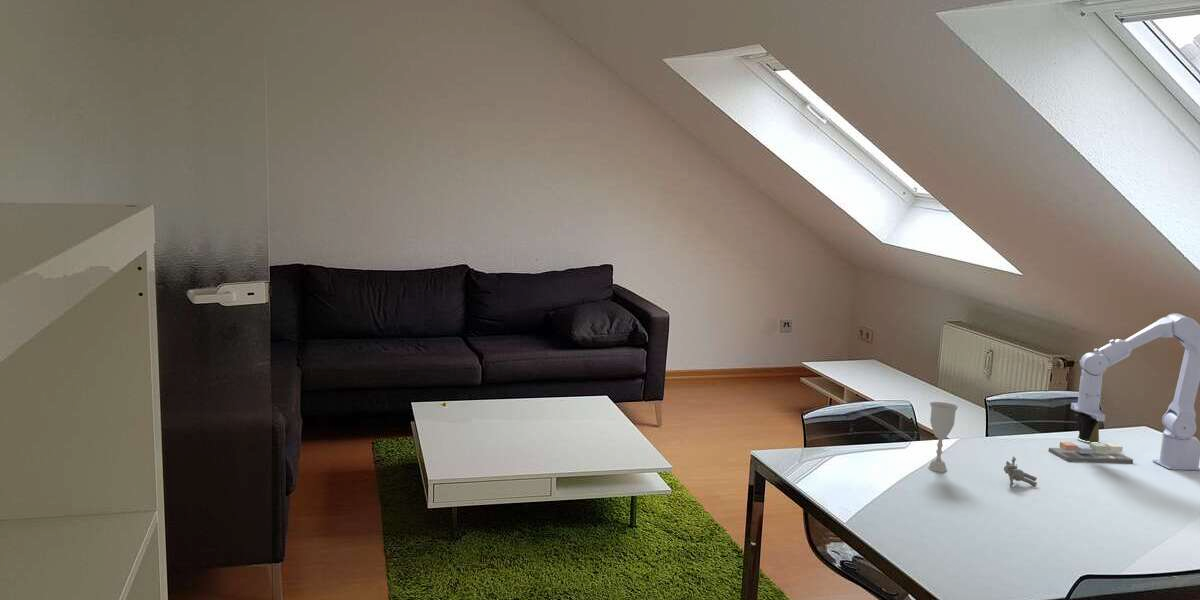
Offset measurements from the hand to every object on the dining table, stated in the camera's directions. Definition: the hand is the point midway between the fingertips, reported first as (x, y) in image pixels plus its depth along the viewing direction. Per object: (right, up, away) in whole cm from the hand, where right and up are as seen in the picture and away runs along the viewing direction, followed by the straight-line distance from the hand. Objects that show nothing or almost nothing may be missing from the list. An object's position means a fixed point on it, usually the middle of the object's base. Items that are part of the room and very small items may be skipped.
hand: (1084, 439), depth 284 cm
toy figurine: (-32, -8, -28) cm, 44 cm away
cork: (+11, -4, +19) cm, 23 cm away
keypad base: (+2, -5, +1) cm, 6 cm away
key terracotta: (-5, -3, 0) cm, 6 cm away
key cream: (+9, -3, +1) cm, 10 cm away
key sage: (+4, -3, +1) cm, 6 cm away
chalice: (-50, -6, -19) cm, 53 cm away
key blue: (0, -4, +1) cm, 4 cm away
